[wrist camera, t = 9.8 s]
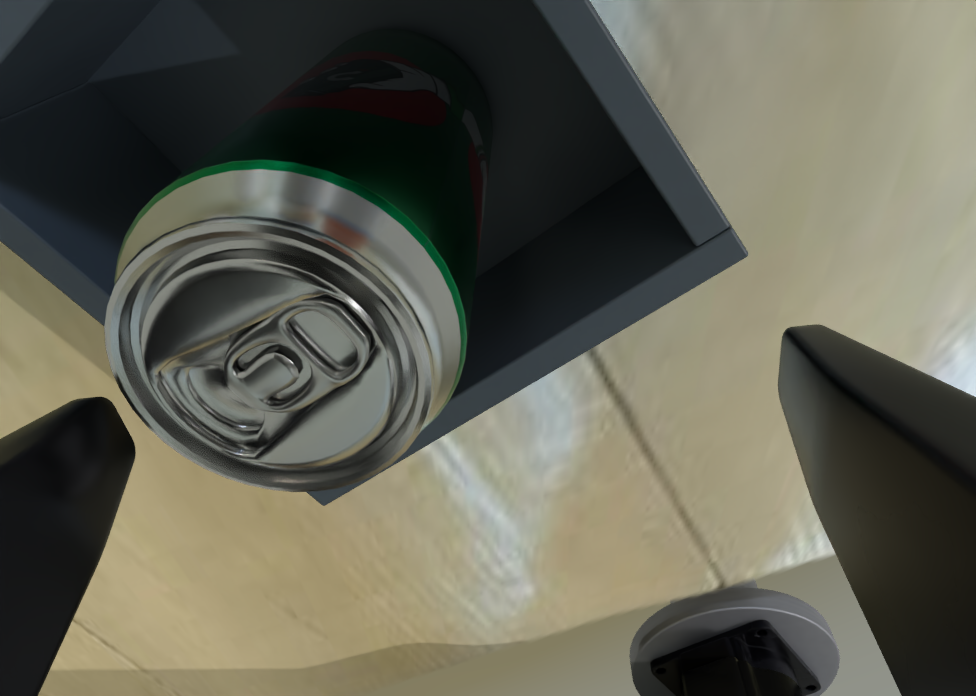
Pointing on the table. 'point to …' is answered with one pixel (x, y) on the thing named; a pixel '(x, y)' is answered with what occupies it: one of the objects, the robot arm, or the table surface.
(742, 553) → the table surface
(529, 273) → the bin
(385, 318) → the soda can
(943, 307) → the table surface
